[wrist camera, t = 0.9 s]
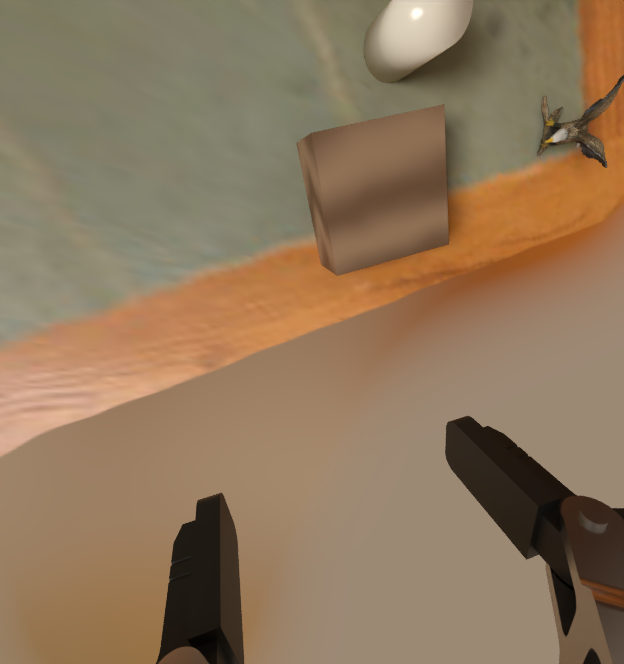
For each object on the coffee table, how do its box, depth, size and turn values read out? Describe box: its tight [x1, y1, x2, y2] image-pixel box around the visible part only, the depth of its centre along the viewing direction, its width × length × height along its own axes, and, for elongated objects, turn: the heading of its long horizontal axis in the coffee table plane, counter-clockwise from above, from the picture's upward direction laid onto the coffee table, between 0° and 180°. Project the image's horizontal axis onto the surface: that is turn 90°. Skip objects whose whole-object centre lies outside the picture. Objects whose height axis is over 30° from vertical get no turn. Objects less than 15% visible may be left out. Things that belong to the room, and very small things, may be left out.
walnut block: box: [297, 104, 449, 276], centre depth 33 cm, size 12×12×6 cm
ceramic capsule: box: [364, 0, 473, 83], centre depth 27 cm, size 5×5×8 cm
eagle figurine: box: [537, 75, 624, 168], centre depth 34 cm, size 8×7×9 cm
